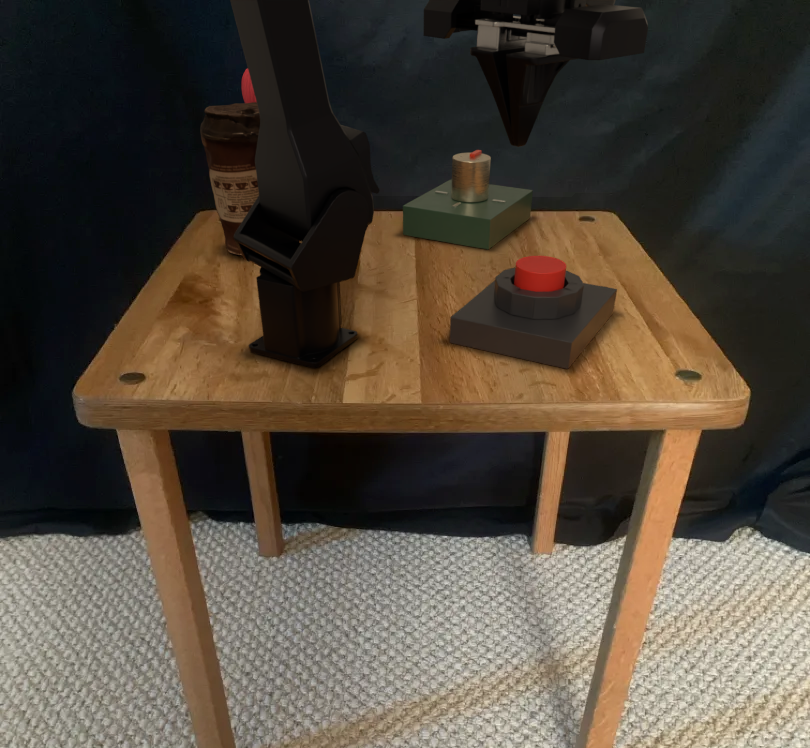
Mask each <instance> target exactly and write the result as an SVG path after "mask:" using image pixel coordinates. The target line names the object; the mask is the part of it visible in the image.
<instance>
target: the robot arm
mask: <svg viewBox="0 0 810 748" xmlns="http://www.w3.org/2000/svg"><path fill="white" fill-rule="evenodd" d="M229 2H230V5H231V9H232V13H233V16H234V22H235V24H236V27H237V32H238V35H239V39H240V44H241V48H242V51H243V55H244V59H245V62H246V66H247V68H248V71H249V74H250V78H251V82H252V86H253V90H254V94H255V97H256V101H257V105H258V109H259V114H260V129H259V136H258V142H257V149H256V155H255V165H256V174H257V182H258V190H259V196H258V198H257V199H256V201H255V202H254V204H253V205H252V207H251V209H250V210H249V212H248V213H247V215H246V216H245V218H244V220H243V221H242V223H241V224H240V226H239V227H238V229H237V231H236V232H235V234H234V240H235V242H236V244H237V246H238V248H239V250H240V252H241V254H242V255H241V256H242V258H243V259H244V260H245V261H247V262H251V263H252V264H255V265H256V266H258V267H260V268H259V275H258V276H256V277H255V279H256V285H257V286H256V287H257V288H256V289H257V296H258V304H259V311H260V318H261V319H260V321H261V328H262V329H261V330H262V335H261V336H260V337H258V338H257V339H255V340H254V341H252V342H251V343H249V344H248V349H249V350H248V351H249V352H250V353H252V354H257V355H260V356H264V357H268V358H272V359H276V360H280V361H284V362H288V363H292V364H295V365H299V366H304V367H308V368H312V369H313V368H319V367H321V366H322V365H324V364H325V363H326V362H327V361H329V360H330V359H332V358H333V357H335V355H337V354H338V353H340V352H341V351H343V350H344V349H346V348H347V347H348V346H350V345H351V344H352V343H353V342H355V341H356V340H357V339H358V338H359V337H358V332H357V331H356V330H353V329H349V328H345V327H344V328H343V327H342V325H343V323H342V322H343V319H342V299H341V298H342V297H341V282H345V281H347V280H351V279H354V278H355V276H356V272H357V268H358V266H359V265H358V264H359V260H360V256H361V252H362V249H363V244H364V239H365V235H366V231H367V230H368V228H369V226H370V225H371V224H372V223H373V221H374V213H375V208H374V197H373V194H379V193H380V188H379V186H378V184H377V182H376V181H375V178H374V174H373V170H372V163H371V144H370V141H369V139H368V134H367V133H366V132H365V131H363V130H359V129H355V128H353V127H350V126H345V125H343V124H341V123H340V122H339V120H338V118H337V117H336V115H335V113H334V112H333V109H332V105H331V102H330V99H329V94H328V89H327V83H326V78H325V73H324V68H323V62H322V59H321V53H320V49H319V43H318V39H317V33H316V27H315V23H314V19H313V18H314V17H313V13H312V9H311V4H310V0H229ZM615 3H616V0H428V1H427V3H426V5H425V7H424V8H423V32H422V33H423V37H429V38H430V37H431V38H435V39H444V40H445V39H447V40H448V39H450V38H451V36H452V35H453V34H455V33H461V32H468V31H469V32H470V31H474V32H477V34H476V35H477V36H476V46H471V47H470V48H469V54H470V56H473V57H475V58H476V60H477V62H478V64H479V66H480V67H481V70H482V73H483V76H484V78H485V80H486V83H487V84H488V87H489V89H490V91H491V93H492V96H493V99H494V102H495V104H496V107H497V110H498V113H499V115H500V118H501V121H502V124H503V127H504V130H505V133H506V135H507V138H508V142H509V144H510V145H511V146H513V147H517V148H520V147H524V146H526V145H527V143H528V141H529V138H530V136H531V133H532V131H533V128H534V126H535V124H536V121H537V118H538V116H539V114H540V111H541V109H542V106H543V104H544V101H545V99H546V97H547V95H548V92H549V90H550V88H551V87H552V84H553V82H554V81H555V79H556V77H557V75H558V74H559V73H560V72H561V71H562V69H563V68H564V67H565V66H566V65H567V64H568V63H569V62H570V61H573V60H578V59H579V60H584V61H585V60H586V61H603V60H610V59H616V58H622V57H623V58H624V57H628V56H635V55H641V54H645V50H646V44H647V38H648V31H649V24H648V20H647V17H646V15H645V12H644V10H643V7H637V6H625V5H615Z"/></svg>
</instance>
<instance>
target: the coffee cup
mask: <svg viewBox="0 0 810 748" xmlns="http://www.w3.org/2000/svg"><path fill="white" fill-rule="evenodd" d="M203 112H204V114H205V115H204V117H203V119H202V120H203V121H202V122H201V123H200V126H199V127H200V129H199V131H200V139H201V143H202V146H203V148H204V152H205V156H206V162H207V167H208V175H209V180H210V185H211V189H212V193H213V199H214V205H215V208H216V213H217V215H218V217H219V220H220V224H221V227H222V230H223V235H224V244H225V247H226V250H227V251H228V253H230V254H234V255H238V256H242V254H241V252H240V250H239V248H238V246H237V244H236V242H235V240H234V234H235V232H236V231H237V229H238V227H239V226H240V224H241V223H242V221H243V220H244V218H245V216H246V215H247V213H248V212H249V210H250V209H251V207H252V205H253V204H254V202H255V201H256V199H257V198H258V196H259V190H258V182H257V174H256V165H255V155H256V149H257V142H258V136H259V129H260V114H259V109H258V105H257V103H256V102H252V103H245V102H244V103H240V102H239V103H237V102H236V103H235V102H234V103H231V104H224V105H209V106H207V107H205V109H204V110H203Z"/></svg>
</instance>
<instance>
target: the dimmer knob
mask: <svg viewBox="0 0 810 748" xmlns="http://www.w3.org/2000/svg"><path fill="white" fill-rule="evenodd" d="M491 158H492V157H491V156H490V155H489V154H486V153H483V152H482V150H481V149H476V150H474V151H472V152H461V153H460V152H459V153H456V154H454V155H453V156H452V161H451V162H452V164H451V179H452V188H451V197H452V199H454V200H456V201H460V202H481V201H485V200H487V199H488V194H489V184H490V177H491V164H492V163H491V161H492V159H491Z"/></svg>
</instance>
